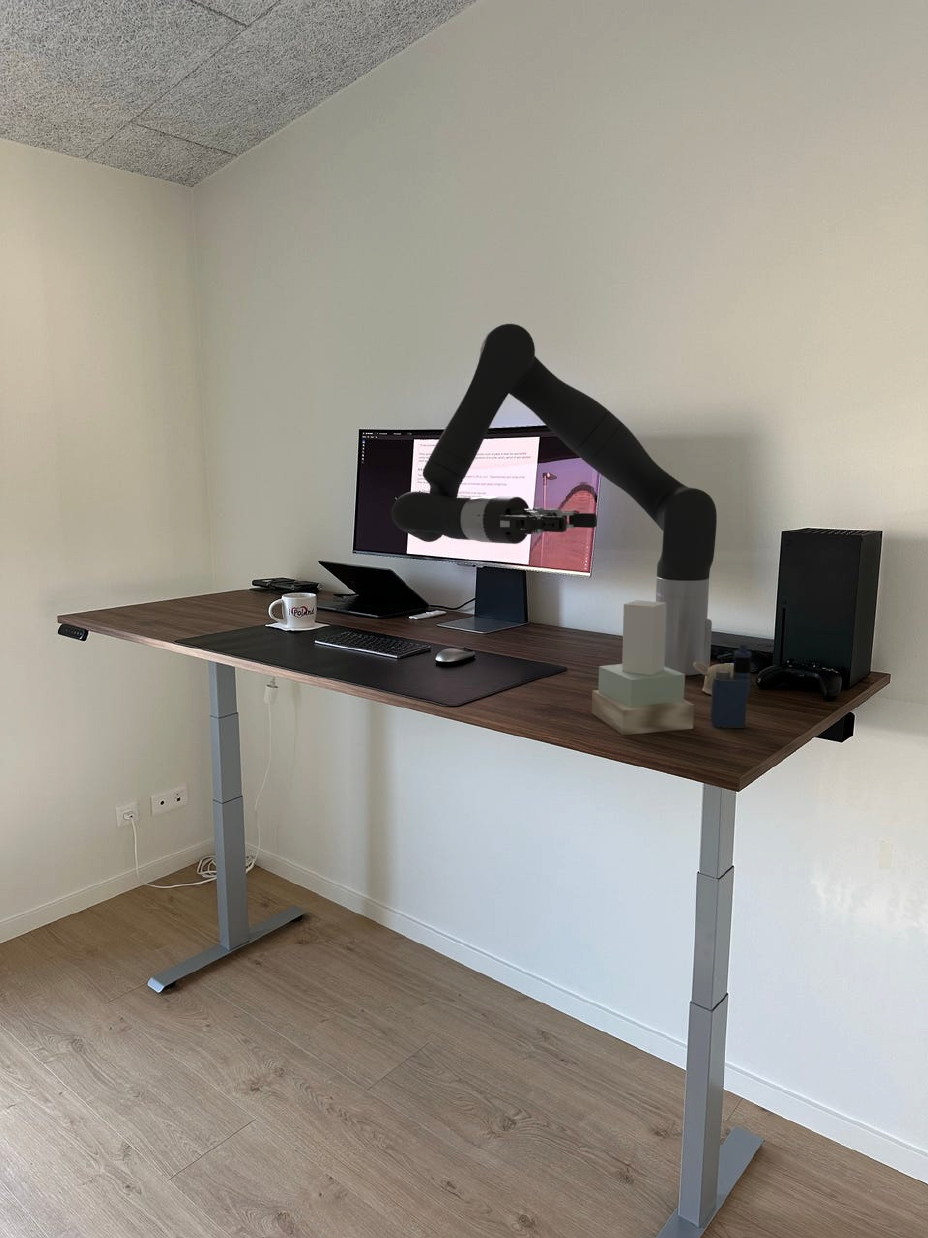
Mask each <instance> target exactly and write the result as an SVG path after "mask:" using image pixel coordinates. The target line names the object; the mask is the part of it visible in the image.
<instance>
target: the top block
mask: <svg viewBox="0 0 928 1238" xmlns="http://www.w3.org/2000/svg"><path fill="white" fill-rule="evenodd" d="M685 681H686V675H685V674H683V673H680V672H678V671H675V670H672V669H670V668H667V667H664V670H662V671H660V672H658V673H656V674H654V675H652V676H651V675H644V674H637V673H630V672H623V671H622V663H619V664H618V663H617V664H608V665H600V666H598V689H597V690H598V692H600V693H602V694H604V695H606V696H608V697H610V698H612V699H614V700H616V701H618V702H620V703H622V704H624V705H626V706H629V707H639V706H647V705H655V704H663V703H672V702H680V701H684V700H685V683H686V682H685Z"/></svg>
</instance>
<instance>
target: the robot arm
mask: <svg viewBox="0 0 928 1238" xmlns="http://www.w3.org/2000/svg"><path fill="white" fill-rule="evenodd" d="M508 395H510V396H511V397H513V398H514V399H516V400H517V401H519V402H520V403H521V404H523V405H524V406H526V408H528V409H529V410H530V411H531V412H532V413H533V414H534V415H536V416H537V418H538V419H539V420H540V421H541V422H543V424H544V425H545V426H547V428H548V429H549V430H550V431H551V432H552V433H554V434H555V436H557V438H558V439H559V440H561V442H563V443H564V444H565V445H566V446H567V447H568V449H570V450H571V451H572V452H573V453H574V454H576V455H577V456H578V457H579V458H580V459H581V460H583V461H584V462H585V463H586V464H588V465H589V466H590V467H591V468H592V469H594V470H595V471H596V472H597V473H598V474H600V475H602V477H603V478H605V479H607V480H608V481H609V482H610V483H612V484H614V485H615V486H617V487H618V488H620V489H621V490H622V491H623V492H625V493H627V495H629V496H630V497H631V498H632V499H633V500H634V501H635V502H636V504H638V505H639V506H640V507H641V509H643V511H644V512H646V513H647V514H648V516H649V517H650V518H651V519H652V521H653V522H654V523H655V524H656V525H657V526H658V527H659V528H660V529H661V530H662V531H663V532H662V533H663V534H662V547H661V549H662V550H661V555H660V558H659V560H658V561H657V565H656V584H655V585H656V586H655V587H656V588H655V592H656V593H655V602H663V603H666V631H665V661H664V667H667V668H670V669H672V670H675V671H678V672H680V673H683V674H685V676H695V675H701V673H700V672H698V671H697V670H696V669H695V668H694V666H693V663H694V662H701V663H703V664H705V665H707V666H708V667H709V668H710V667H711V666H710V665H711V650H712V649H711V645H712V631H713V630H712V625H713V624H712V623H713V621H712V620H711V619H709V618H708V615H709V614H708V613H709V609H708V608H709V591H710V590H709V588H710V575H711V574H710V571H711V567H712V565H713V562H714V557H715V551H716V549H715V548H716V537H717V536H716V535H717V524H718V521H717V518H718V517H717V515H718V513H717V507H716V504H715V502H714V500H713V498H712V496H710V494H708V493H707V492H705V491H704V490H701V489H699V488H695V487H688V486H687V485H684V484H683V483H682V482H681V481H679V480H678V479H676V478H674V477H673V476H672V475H671V474H670V473H668V472H667V471H666V470H664V469H663V468H662V467H660V466H659V465H658V464H657V463H656V462H655V461H654V460H653V459H652V457H651V456H650V455H649V453H648V452H647V451H646V449H645V448H644V447H643V445H642V443H641V442H640V441H639V440H638V439H637V437H636V436H635V435H634V434H633V432H632V431H631V430H630V429H629V428H628V426H626V424H625V423H623V422H622V421H621V420H620V419H619V418H618V417H617V416H615V414H613V413H612V412H611V411H610V410H609V409H608V408H606V407H605V405H602V404H601V403H600V402H598V401H597V400H596V399H594V398H592V397H591V396H589V395H587V394H586V393H584V392H583V391H580V390H579V389H576V388H575V387H573V386H571V385H569V384H567V383H566V382H564V381H562V379H560V378H558V377H557V376H556V375H555V374H553V372H552V371H550V370H549V368H548V367H546V366H545V365H544V364H543V362H542V361H541V360H540V359H539V358H538V357H537V356H536V348H535V342H534V339H533V337H532V336H531V334H530V333H529V332H528V330H527V329H525V327H523V326H521V325H520V324H515V323H504V324H501V325H498V326H496V327H494V328H493V329H491V330H490V331H489V333H487V334H486V336H485V337H484V339H483V341H482V343H481V347H480V348H479V352H478V363H477V365H476V369H475V370H474V375H473V376H472V379H471V382H470V384H469V386H468V388H467V390H466V392H465V394H464V396H463V397H462V399H461V402H460V404H459V405H458V407H457V408H456V410H455V412H454V414H453V416H452V417H451V418H450V420H449V422H448V423H447V425H446V426H445V428H444V430H443V432H442V434H441V435H440V437H439V438H438V440H437V442H436V444H435V446H434V448H433V450H432V452H431V454H430V455H429V457H428V459H427V461H426V463H425V465H424V467H423V469H422V476H423V478H424V480H425V481H426V482H427V483H428V485H429V492H424V491H415V490H414V491H409V492H406V493H405V492H404V493H403V494H402V495H400V496H399V497H398V498H397V499H396V500H395V501H394V502H393V505H392V508H391V518H392V520H393V523H394V524H395V526H396V527H397V528H398V529H399V530H401V531H403V532H405V533H406V534H408V535H411V536H413V537H415V538H417V539H419V541H420V540H421V541H422V542H425V543H432V542H435V541H438V540H439V539H441V537H443V536H444V537H446V538H449V539H452V540H453V539H454V540H463V541H464V540H466V541H476V542H480V543H489V544H490V543H491V544H493V543H494V544H507V545H508V544H509V545H510V544H512V545H518V544H521V543H522V542H523V541H524V540H525V539H526V538H527V537H528V535H539V534H542V533H544V532H546V533H547V532H549V533H565V532H566V531H567V529H568V528H569V529H570V528H571V529H575V528H580V529H581V528H584V529H585V528H587V529H593V528H597V525H598V516H597V513H595V512H594V513H593V512H580V510H577V509H574V510H561V509H559V508H547V509H546V508H543V507H533V508H530V507H529V505H528V502H527V501H526V500H525V499H523V498H522V497H519V496H504V495H503V496H498V495H497V496H496V495H495V496H489V495H487V496H478V497H458V495H459V491H460V486H461V485H462V483H463V481H464V479H465V477H466V476H467V473H468V472H469V470H470V468H471V466H472V464H473V462H474V460H475V458H476V456H477V454H478V452H479V451H480V448H481V446H482V443H483V441H484V439H485V438H486V435H487V433H488V431H489V429H490V427H491V425H492V422H493V421H494V419H495V417H496V415H497V413H498V412H499V410H500V409H501V407H502V404H504V402H505V400H506V399H507V397H508ZM697 667H698V668H700V669H701V670H703V671H705V672H707V670H706V669H705V668H704V667H702V666H700V665H697Z"/></svg>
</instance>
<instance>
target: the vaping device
mask: <svg viewBox="0 0 928 1238" xmlns="http://www.w3.org/2000/svg"><path fill="white" fill-rule="evenodd" d="M751 665H752V652H751V651H748V646H747V645H745V644H741V645H739V649H738V650H735V651H734V652H733V666H734V667H733V677H732V676H730V671H728V670H716V676H715V677H714V680H713V682H712V695H710V699H711V700H710V716H709V717H710V718H709V720H710V723H711V726H713V727H714V728H717V727H718V729H732V728H745V729H746V727H745V726H746V720H747V719H746V717H747V702H748V701H747V700H748V695H749V694H750V692H751V691H750V690H751V671H752V670H751V668H752V667H751ZM720 727H721V728H720Z"/></svg>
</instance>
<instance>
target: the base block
mask: <svg viewBox="0 0 928 1238" xmlns="http://www.w3.org/2000/svg"><path fill="white" fill-rule="evenodd" d="M591 695H592V698H591V699H592V701H591V713H592V714H593V716H596V717H597V718H598V719H600V720H601V721H602V722H604V723H605V724H606V725H608V726H609V727H611V728H612V729H614V730H615V731H617V732H618V733H620V734H621V735H622V736H624V735H625V736H626V735H636V734H637V735H639V734H648V733H659V732H671V731H681V730H691V729H694V715H695V704H694V703H692V702H690V701H688V700H686V699H684V701H680V702H672V703H663V704H655V705H647V706H639V707H629V706H626V705H624V704H622V703H620V702H618V701H616V700H614V699H612V698H610V697H608V696H606V695H604V694H602V693H600V692H598V689H597V690H592V694H591Z"/></svg>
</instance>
